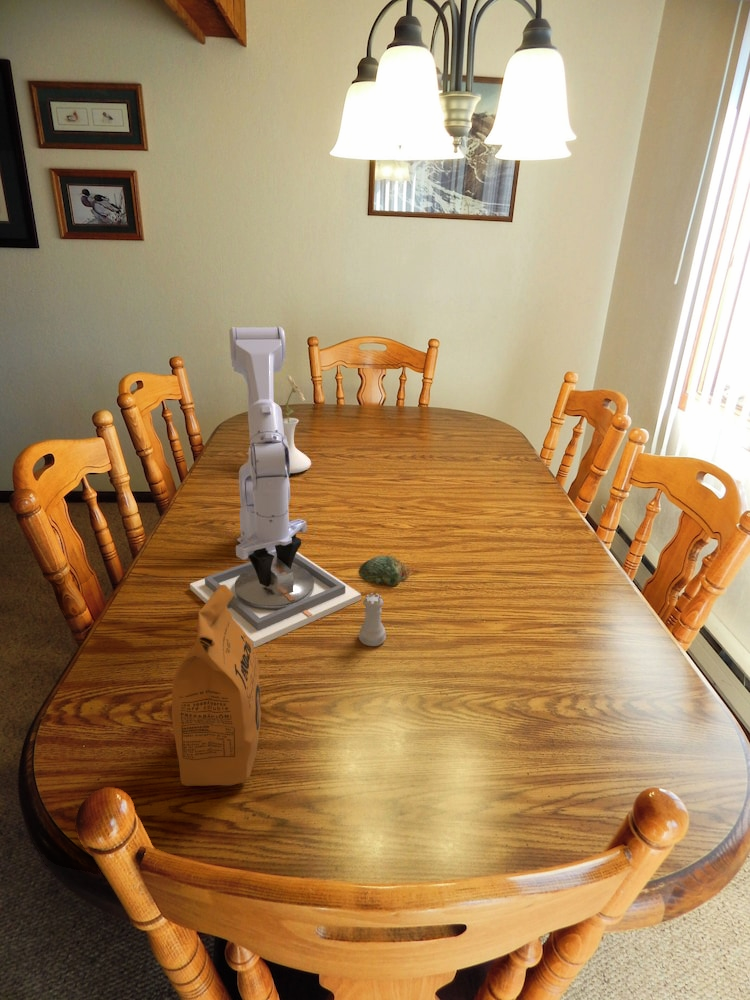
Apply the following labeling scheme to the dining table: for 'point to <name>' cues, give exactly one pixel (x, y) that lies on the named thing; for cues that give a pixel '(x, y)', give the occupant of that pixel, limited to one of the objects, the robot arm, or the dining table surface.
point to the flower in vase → (297, 458)
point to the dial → (275, 586)
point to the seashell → (384, 571)
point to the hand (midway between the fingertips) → (274, 579)
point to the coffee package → (217, 700)
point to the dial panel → (281, 621)
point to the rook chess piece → (372, 622)
